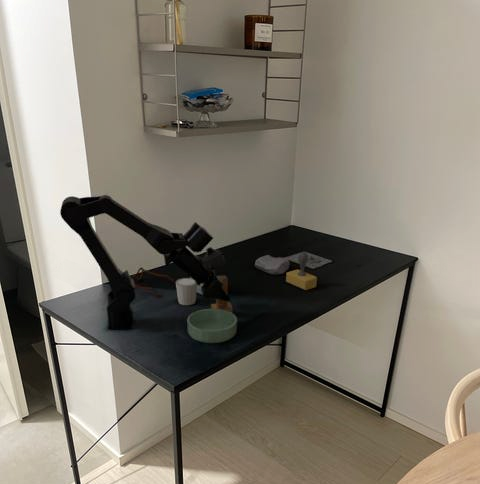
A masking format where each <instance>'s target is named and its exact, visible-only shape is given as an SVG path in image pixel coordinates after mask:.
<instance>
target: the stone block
mask: <svg viewBox="0 0 480 484" xmlns="http://www.w3.org/2000/svg"><path fill="white" fill-rule="evenodd" d="M254 267H255V268H256V269H257V270H260V271H263V272H265V273H267V274H270V275H282V274H284V273H285V272H287V271H289V269H290V260H287V259H286V258H285V257H280V256H279V257H274V256H271V255H269V254H266V255H263V256H260V257H259V258H257V259H256V260H255V263H254Z"/></svg>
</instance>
